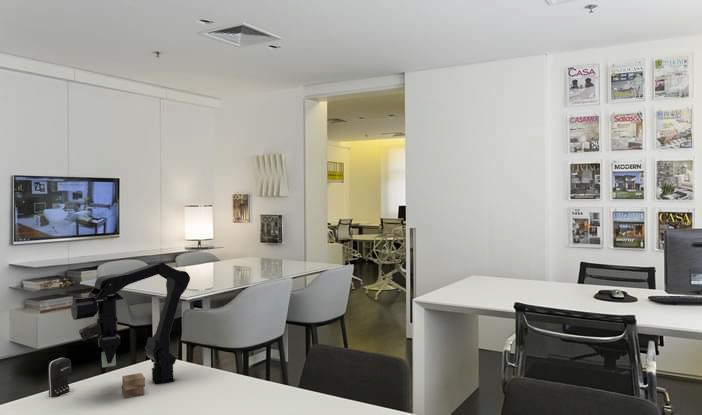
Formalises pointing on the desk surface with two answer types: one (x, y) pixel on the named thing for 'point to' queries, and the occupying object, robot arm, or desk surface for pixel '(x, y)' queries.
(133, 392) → the block
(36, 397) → the desk surface
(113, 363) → the sage block
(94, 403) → the desk surface
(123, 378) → the brown square block
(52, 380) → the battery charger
